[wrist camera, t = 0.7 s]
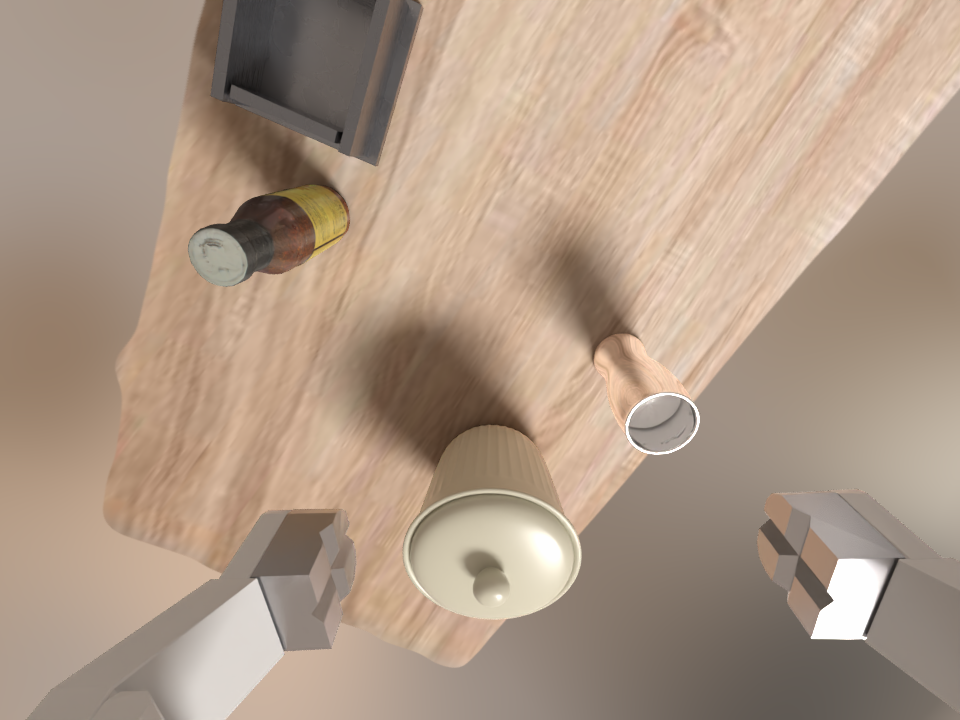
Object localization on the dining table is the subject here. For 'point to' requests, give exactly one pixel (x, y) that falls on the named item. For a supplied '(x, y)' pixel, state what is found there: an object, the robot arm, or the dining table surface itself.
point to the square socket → (318, 66)
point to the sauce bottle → (270, 234)
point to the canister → (492, 529)
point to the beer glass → (645, 396)
